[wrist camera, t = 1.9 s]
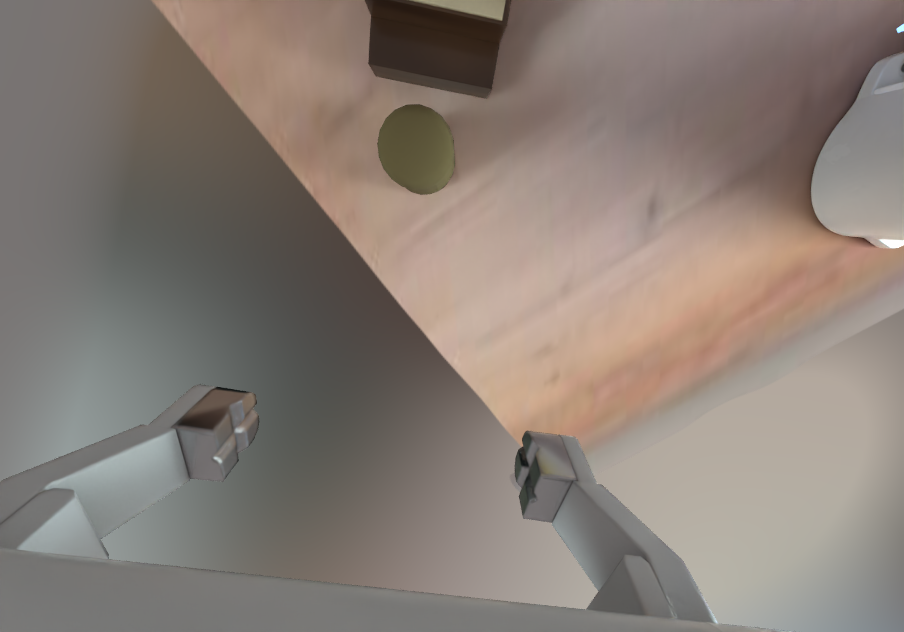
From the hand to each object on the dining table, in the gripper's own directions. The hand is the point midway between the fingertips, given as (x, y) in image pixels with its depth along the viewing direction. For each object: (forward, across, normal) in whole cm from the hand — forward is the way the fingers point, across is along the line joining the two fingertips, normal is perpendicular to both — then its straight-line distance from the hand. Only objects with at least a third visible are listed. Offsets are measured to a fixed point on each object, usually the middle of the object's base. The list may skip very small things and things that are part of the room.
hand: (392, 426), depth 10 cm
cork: (+27, +2, -7) cm, 28 cm away
